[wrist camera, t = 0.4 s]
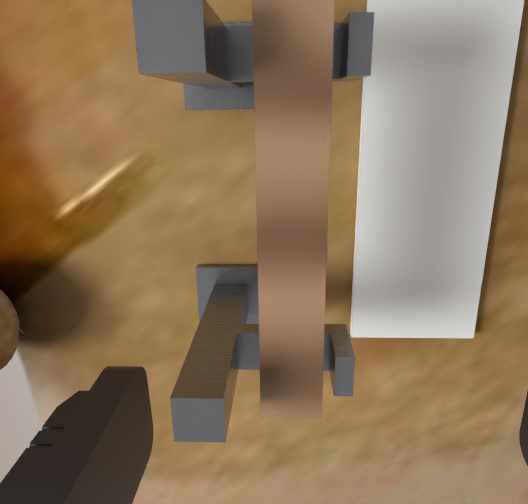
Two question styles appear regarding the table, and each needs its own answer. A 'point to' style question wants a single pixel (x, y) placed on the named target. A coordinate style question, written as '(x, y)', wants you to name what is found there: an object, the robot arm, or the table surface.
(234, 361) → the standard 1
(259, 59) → the rail
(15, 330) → the onion
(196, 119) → the table surface
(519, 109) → the table surface
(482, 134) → the mat
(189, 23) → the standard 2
